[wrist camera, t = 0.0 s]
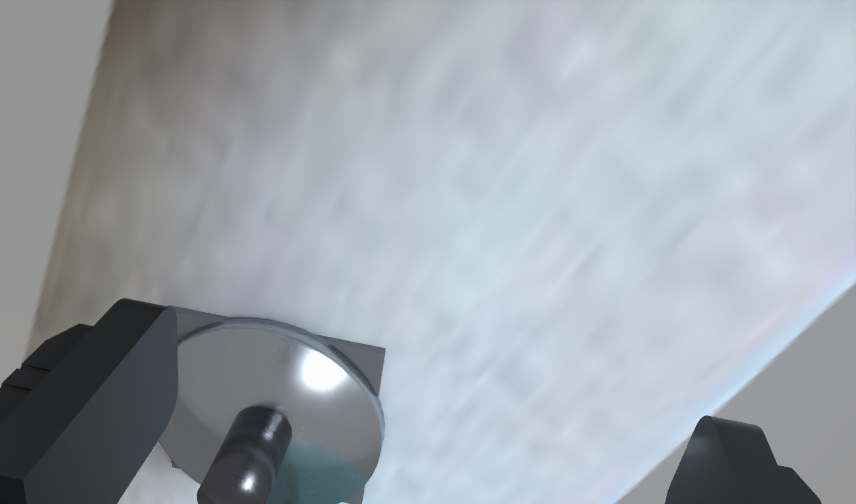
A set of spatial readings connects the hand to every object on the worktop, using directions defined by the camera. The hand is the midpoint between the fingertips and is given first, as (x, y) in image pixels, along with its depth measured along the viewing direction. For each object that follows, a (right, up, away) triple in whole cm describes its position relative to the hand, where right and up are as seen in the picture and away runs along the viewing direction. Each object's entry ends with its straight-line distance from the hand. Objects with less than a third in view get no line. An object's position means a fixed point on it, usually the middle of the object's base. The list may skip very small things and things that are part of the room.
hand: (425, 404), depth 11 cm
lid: (-8, -5, +24) cm, 25 cm away
